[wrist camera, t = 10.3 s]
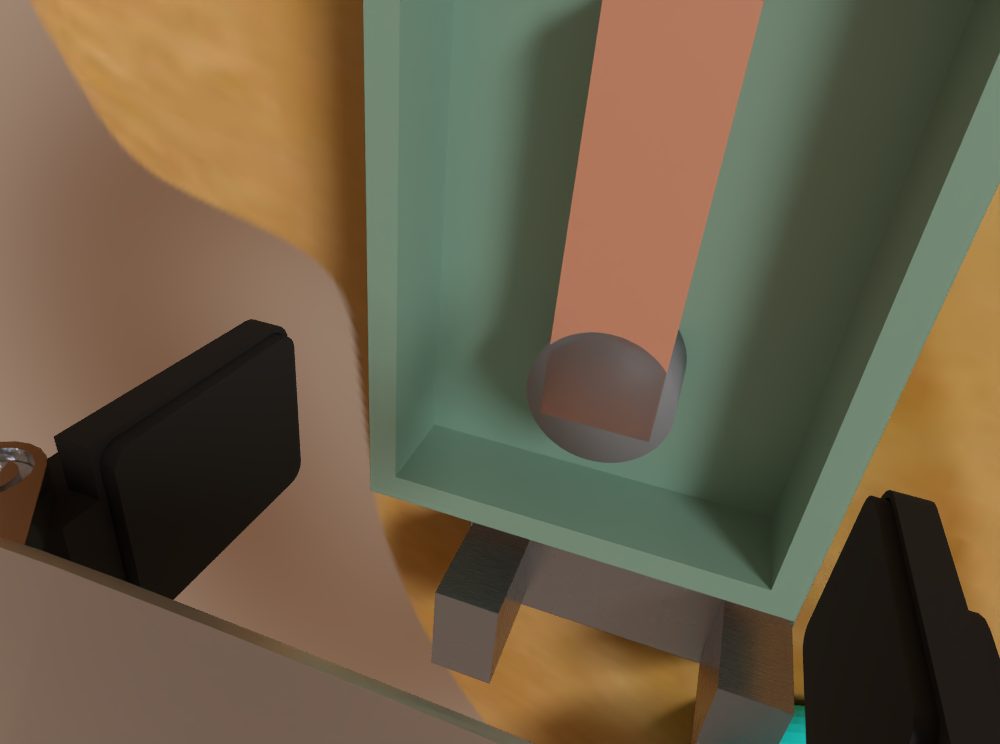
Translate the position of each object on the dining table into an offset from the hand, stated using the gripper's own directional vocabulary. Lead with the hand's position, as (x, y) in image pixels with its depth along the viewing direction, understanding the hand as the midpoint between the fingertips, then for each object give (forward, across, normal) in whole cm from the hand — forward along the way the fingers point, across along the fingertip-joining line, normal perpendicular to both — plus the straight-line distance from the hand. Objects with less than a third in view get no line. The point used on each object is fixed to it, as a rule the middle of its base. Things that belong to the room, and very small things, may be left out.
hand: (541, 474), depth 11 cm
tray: (+13, 0, 0) cm, 13 cm away
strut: (+12, 0, -1) cm, 12 cm away
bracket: (+13, -2, +14) cm, 20 cm away
